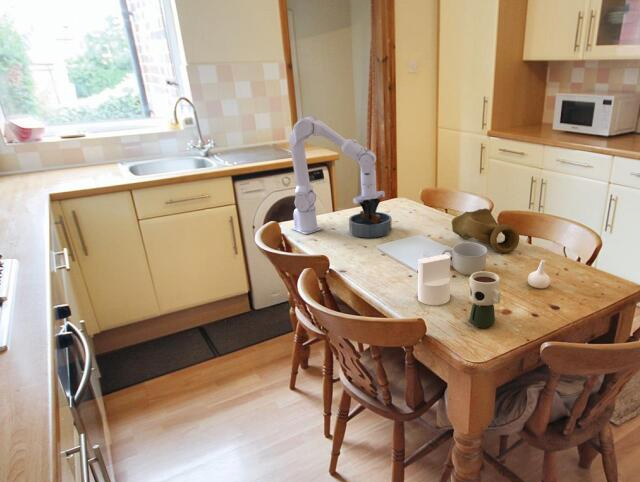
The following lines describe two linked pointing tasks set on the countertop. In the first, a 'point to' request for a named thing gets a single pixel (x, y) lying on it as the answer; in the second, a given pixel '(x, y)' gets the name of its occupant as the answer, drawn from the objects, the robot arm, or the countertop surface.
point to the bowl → (370, 226)
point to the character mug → (484, 297)
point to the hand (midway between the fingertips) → (370, 217)
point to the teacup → (467, 257)
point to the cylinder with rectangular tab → (434, 280)
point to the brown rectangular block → (371, 218)
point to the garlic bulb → (539, 277)
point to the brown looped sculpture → (485, 230)
